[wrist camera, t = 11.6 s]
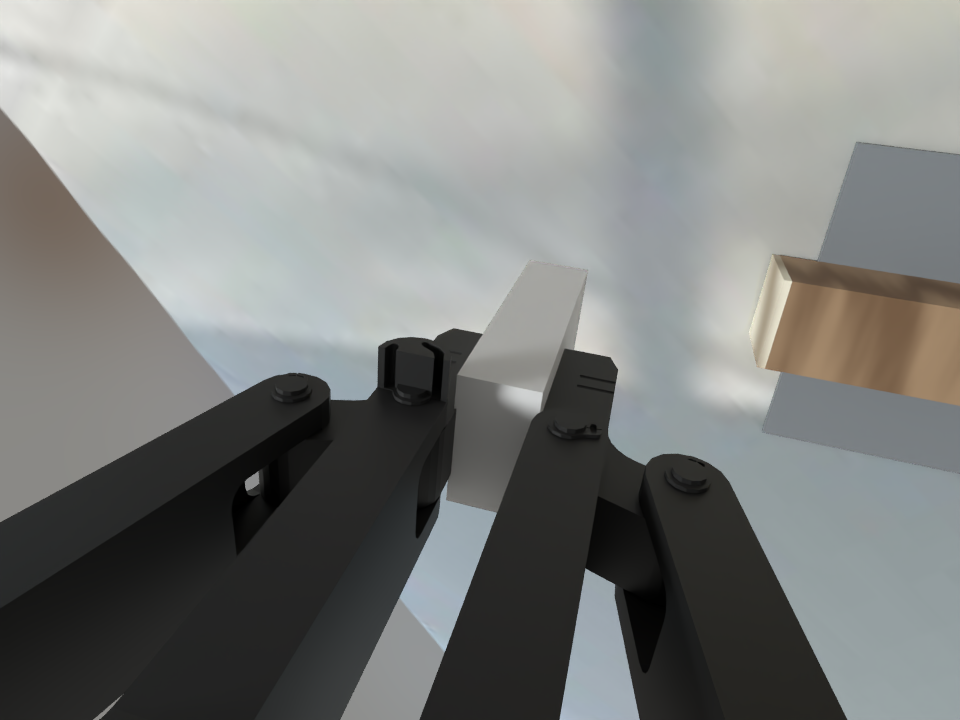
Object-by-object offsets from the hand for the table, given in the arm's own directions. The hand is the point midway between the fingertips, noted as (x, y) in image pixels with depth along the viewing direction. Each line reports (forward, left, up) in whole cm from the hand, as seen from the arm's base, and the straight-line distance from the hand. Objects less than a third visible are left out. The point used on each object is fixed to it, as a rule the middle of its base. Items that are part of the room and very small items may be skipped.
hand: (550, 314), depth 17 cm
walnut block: (+9, -6, -22) cm, 24 cm away
